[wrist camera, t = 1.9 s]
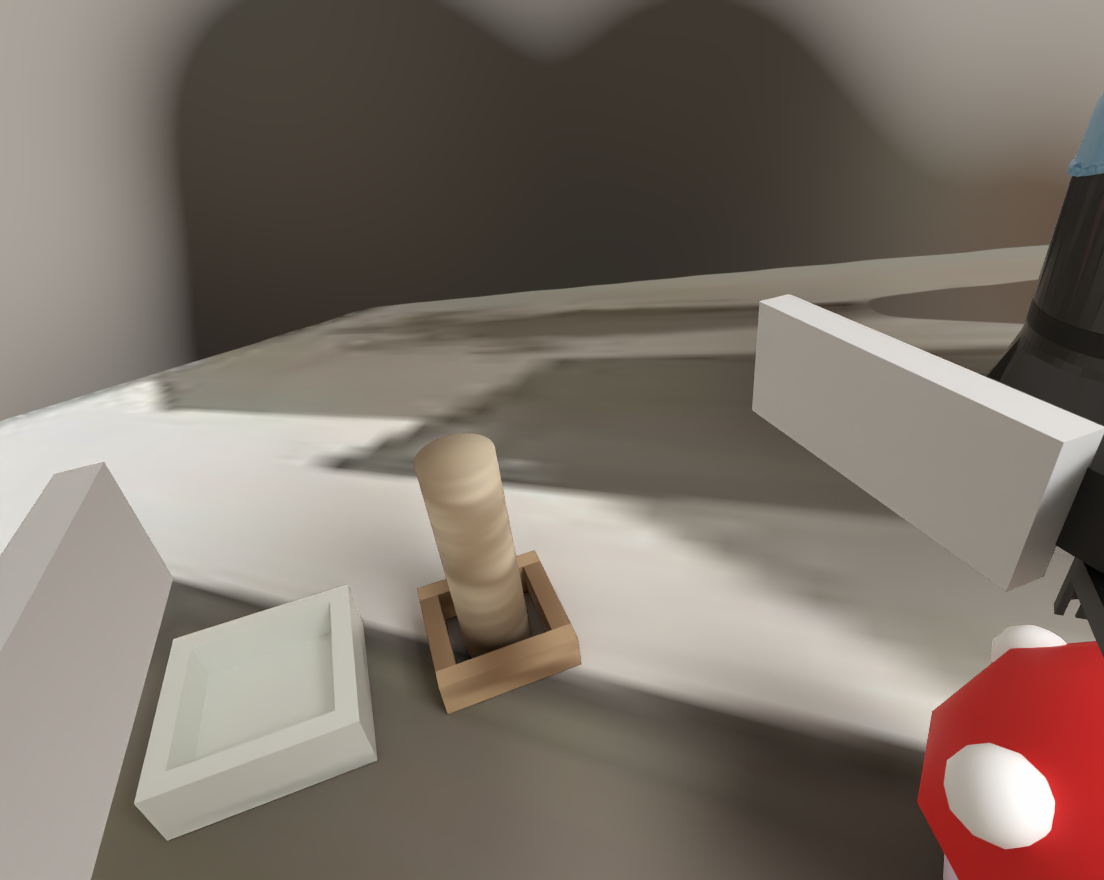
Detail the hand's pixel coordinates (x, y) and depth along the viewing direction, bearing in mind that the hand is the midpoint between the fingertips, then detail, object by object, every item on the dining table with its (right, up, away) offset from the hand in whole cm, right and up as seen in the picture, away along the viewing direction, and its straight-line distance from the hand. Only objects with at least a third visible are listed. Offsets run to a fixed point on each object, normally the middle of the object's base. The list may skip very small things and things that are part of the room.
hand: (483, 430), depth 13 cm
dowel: (-2, -11, +21) cm, 24 cm away
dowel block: (-2, -11, +21) cm, 24 cm away
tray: (-12, -14, +18) cm, 26 cm away
